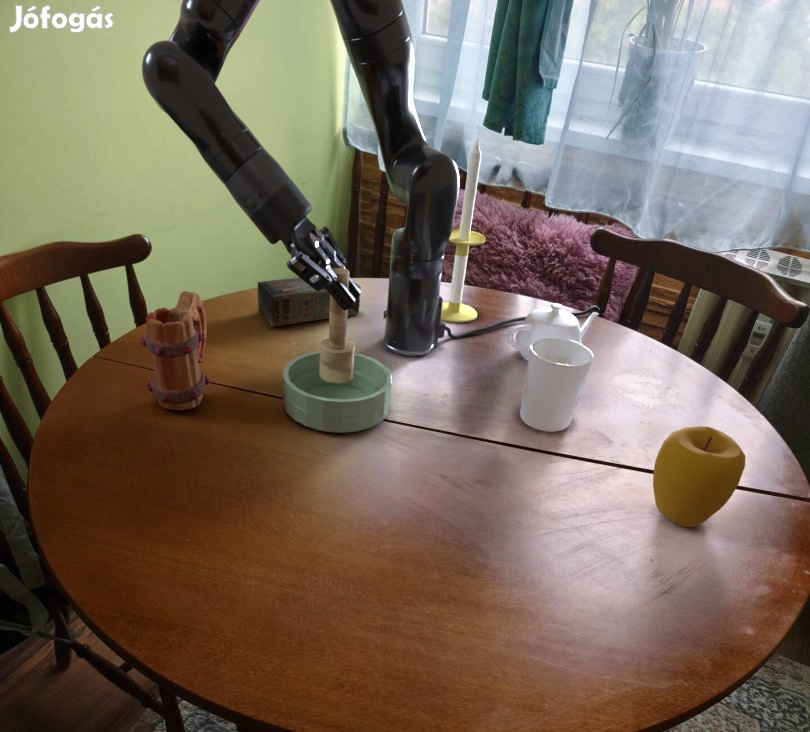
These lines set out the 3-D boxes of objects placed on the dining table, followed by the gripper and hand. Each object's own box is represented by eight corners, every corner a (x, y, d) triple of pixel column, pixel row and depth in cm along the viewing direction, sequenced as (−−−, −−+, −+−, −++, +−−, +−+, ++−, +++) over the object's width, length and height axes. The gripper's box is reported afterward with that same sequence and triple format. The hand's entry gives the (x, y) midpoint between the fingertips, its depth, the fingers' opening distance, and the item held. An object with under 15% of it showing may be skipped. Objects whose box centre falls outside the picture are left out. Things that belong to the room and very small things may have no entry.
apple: (644, 482, 102) (673, 405, 94) (719, 504, 100) (756, 427, 91) (633, 523, 94) (664, 444, 86) (714, 548, 92) (755, 468, 83)
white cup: (538, 398, 119) (554, 331, 111) (586, 422, 114) (606, 354, 107) (503, 415, 114) (517, 347, 106) (551, 441, 109) (569, 371, 101)
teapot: (570, 337, 140) (583, 287, 133) (608, 364, 132) (623, 313, 125) (485, 348, 133) (495, 296, 126) (520, 378, 124) (532, 324, 118)
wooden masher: (341, 365, 109) (346, 262, 99) (359, 379, 106) (365, 275, 96) (313, 371, 107) (314, 266, 97) (330, 386, 104) (333, 279, 94)
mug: (192, 422, 104) (180, 326, 94) (141, 413, 104) (124, 317, 95) (230, 379, 115) (223, 289, 105) (184, 370, 115) (172, 280, 106)
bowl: (353, 375, 119) (355, 343, 116) (408, 420, 110) (412, 386, 106) (266, 396, 111) (264, 362, 107) (317, 447, 102) (317, 411, 98)
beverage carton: (361, 315, 139) (362, 283, 135) (272, 329, 130) (270, 295, 126) (343, 300, 144) (344, 268, 140) (255, 313, 135) (254, 279, 131)
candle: (482, 309, 147) (511, 136, 126) (469, 326, 140) (497, 145, 119) (438, 299, 149) (460, 127, 128) (423, 315, 142) (443, 135, 121)
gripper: (269, 191, 85) (361, 305, 92) (303, 166, 95) (383, 270, 102) (231, 229, 89) (321, 336, 95) (267, 202, 99) (347, 300, 106)
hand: (353, 301), depth 99 cm, fingers closed on wooden masher, 2 cm apart
